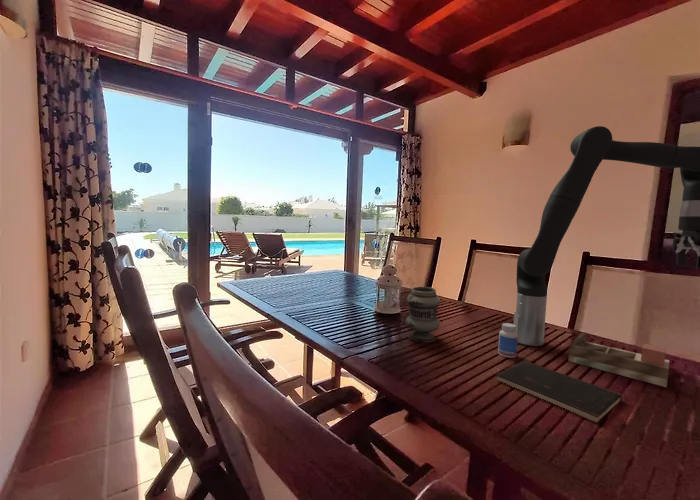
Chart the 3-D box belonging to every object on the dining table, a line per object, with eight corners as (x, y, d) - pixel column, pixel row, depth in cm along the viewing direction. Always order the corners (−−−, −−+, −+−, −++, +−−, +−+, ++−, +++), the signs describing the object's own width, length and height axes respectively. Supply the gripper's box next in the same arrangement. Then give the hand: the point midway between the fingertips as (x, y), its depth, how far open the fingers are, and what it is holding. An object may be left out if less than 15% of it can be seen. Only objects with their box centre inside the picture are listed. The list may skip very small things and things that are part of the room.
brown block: (640, 360, 99) (642, 347, 98) (642, 356, 102) (643, 343, 102) (663, 366, 95) (665, 352, 95) (664, 361, 99) (665, 348, 98)
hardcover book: (596, 426, 70) (597, 416, 70) (495, 382, 89) (495, 374, 89) (621, 403, 80) (622, 393, 80) (524, 367, 98) (525, 360, 98)
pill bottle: (518, 359, 103) (521, 328, 102) (500, 357, 104) (502, 327, 103) (513, 352, 108) (515, 323, 108) (496, 350, 110) (498, 321, 109)
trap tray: (568, 361, 102) (569, 345, 102) (580, 346, 115) (582, 332, 115) (666, 387, 87) (668, 368, 86) (668, 366, 100) (670, 350, 99)
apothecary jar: (403, 341, 116) (405, 290, 114) (406, 330, 128) (407, 284, 126) (439, 345, 113) (441, 293, 112) (438, 333, 125) (440, 286, 123)
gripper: (666, 215, 112) (661, 263, 113) (699, 214, 98) (693, 269, 99) (693, 216, 110) (688, 264, 111) (731, 215, 96) (724, 270, 97)
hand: (690, 266), depth 105 cm, fingers open, 8 cm apart
